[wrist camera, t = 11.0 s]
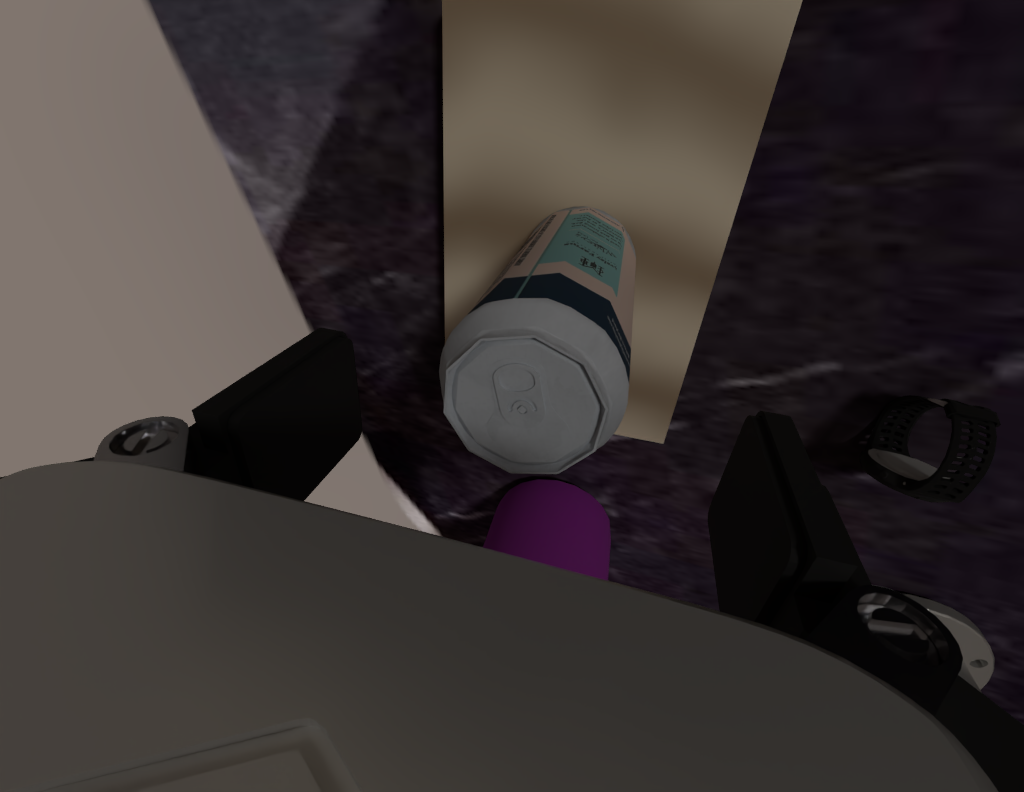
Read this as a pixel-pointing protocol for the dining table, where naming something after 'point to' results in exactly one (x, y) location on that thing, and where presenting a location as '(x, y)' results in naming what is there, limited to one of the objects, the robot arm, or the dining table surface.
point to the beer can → (546, 348)
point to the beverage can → (553, 527)
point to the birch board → (607, 149)
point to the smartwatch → (918, 475)
